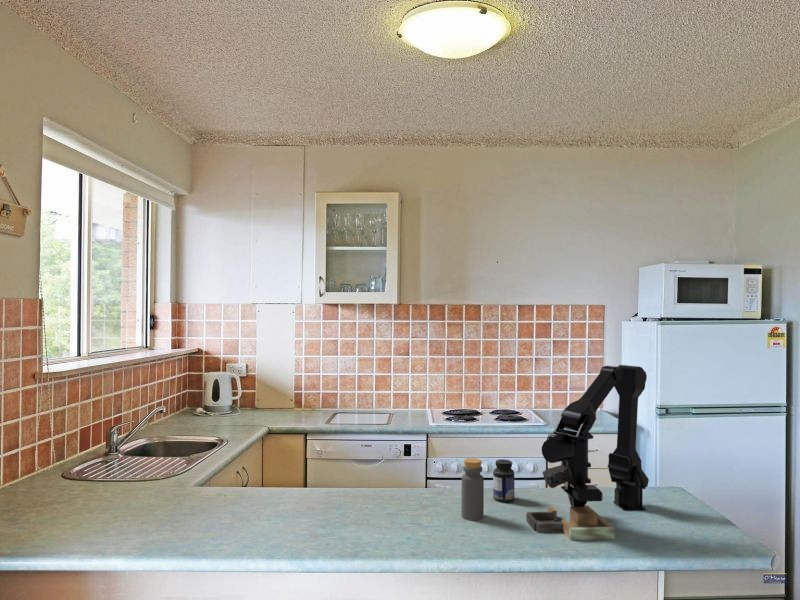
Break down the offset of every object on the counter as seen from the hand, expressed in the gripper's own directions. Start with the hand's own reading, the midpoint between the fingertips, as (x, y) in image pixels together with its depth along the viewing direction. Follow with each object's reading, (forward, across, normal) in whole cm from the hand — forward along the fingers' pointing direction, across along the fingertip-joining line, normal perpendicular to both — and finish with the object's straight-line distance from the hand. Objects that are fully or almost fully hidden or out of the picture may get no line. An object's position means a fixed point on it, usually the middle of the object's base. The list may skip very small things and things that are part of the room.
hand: (576, 517), depth 147 cm
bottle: (+2, -6, -26) cm, 27 cm away
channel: (+2, +2, -3) cm, 4 cm away
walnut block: (+2, +4, 0) cm, 5 cm away
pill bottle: (+2, -19, -14) cm, 24 cm away
